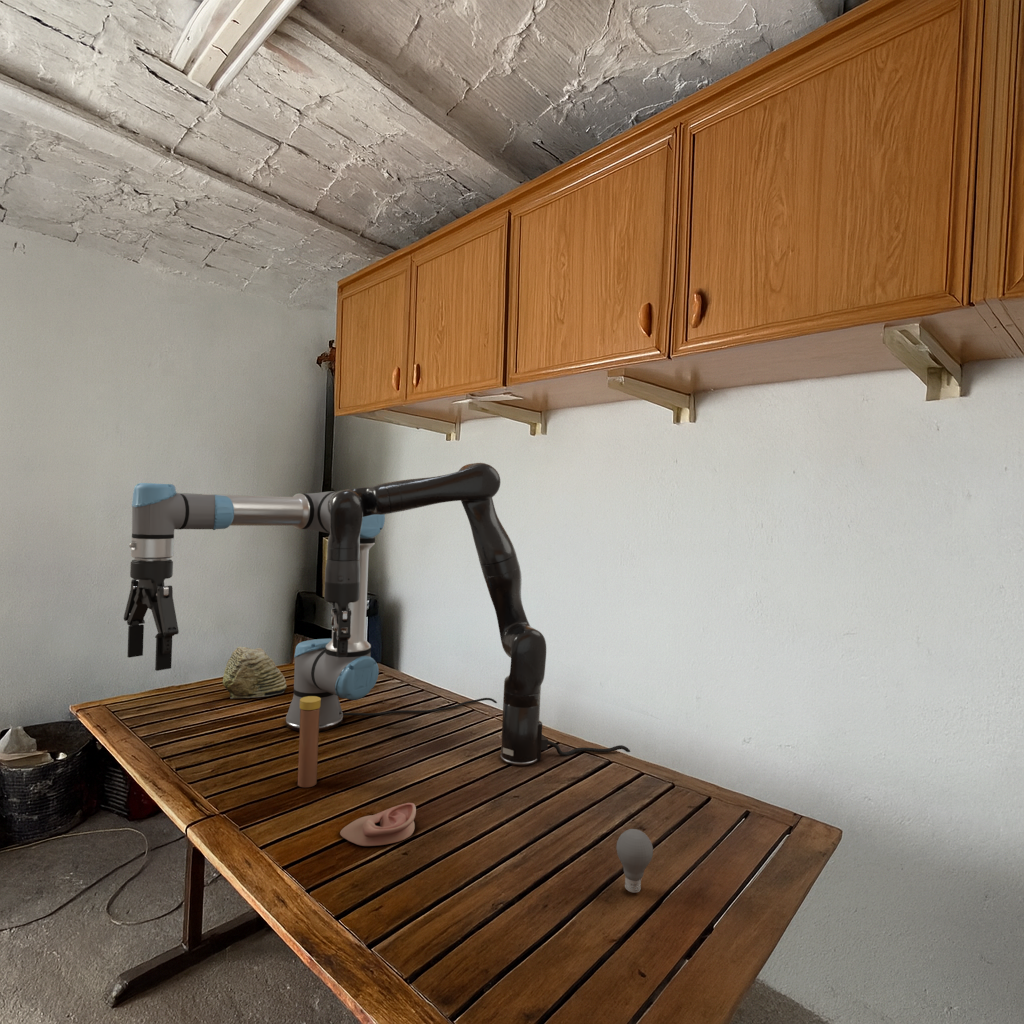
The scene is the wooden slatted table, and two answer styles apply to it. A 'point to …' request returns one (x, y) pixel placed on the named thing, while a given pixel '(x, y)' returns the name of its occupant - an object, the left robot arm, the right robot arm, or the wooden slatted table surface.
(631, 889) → the light bulb
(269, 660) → the fossil
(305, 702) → the lid
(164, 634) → the left robot arm
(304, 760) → the brown long cylinder
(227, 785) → the wooden slatted table surface
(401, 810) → the anatomical model
